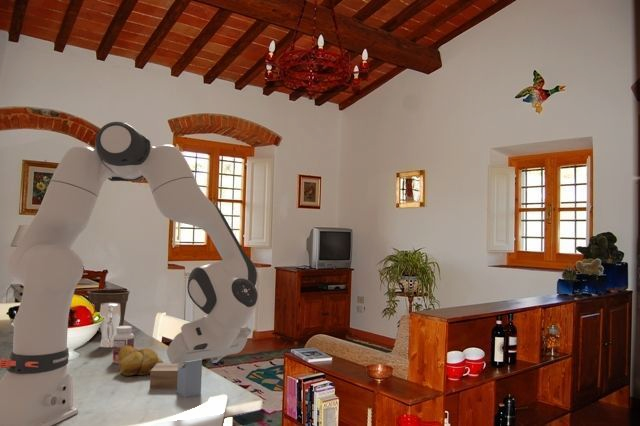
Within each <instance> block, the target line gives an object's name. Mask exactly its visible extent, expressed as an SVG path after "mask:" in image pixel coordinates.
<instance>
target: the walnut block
mask: <svg viewBox="0 0 640 426" xmlns="http://www.w3.org/2000/svg"><path fill="white" fill-rule="evenodd" d="M149 375H150V376H149V389H150V390H151V389H153V390H154V389H158V390H159V389H161V390H163V389H164V390H169V389H170V390H171V389H173V390H177V381H178V365H177V363H175V364H172V363H171V362H163V363H157V364H156V365H155V366H154V367H153V369H152V370H151V372H150V373H149Z"/></svg>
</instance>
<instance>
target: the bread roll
mask: <svg viewBox="0 0 640 426" xmlns="http://www.w3.org/2000/svg"><path fill="white" fill-rule="evenodd" d="M118 358H119V360H120V362H119V364H118V365H119V366H118V369H119V371H120V373H121V374H122V376H125V377H126V376H127V377H130V376H135V375H137V376H144V375H145V376H146V375H148V374H149V375H150V372H151V370H152V369H153V367H154V366H155V365H156V364H157V363H164V361H163V359H161V358H160V357H159V355H158V353H157V352H156V351H155V350H153V349H152V348H151V349H150V348H142V349H138V348H136V347H134V348H133V347H131V346H129V345H124V346H122V347H121V349H120V351H119V355H118Z"/></svg>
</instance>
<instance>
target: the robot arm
mask: <svg viewBox="0 0 640 426" xmlns="http://www.w3.org/2000/svg"><path fill="white" fill-rule="evenodd" d="M94 141H95V142H94V143H95V147H90V146H86V145H75V146H72V147H70V148H69V149H68V150H67V151H66V152H65V154H64V155H63V157H62V158H61V160H60V161H59V163H58V165H57V167H56V168H55V170H54V172H53V175H52V177H51V179H50V180H49V181H50V182H49V183H48V187H47V188H46V192H45V193H44V196H43V199H42V201H41V204H40V205H39V208H38V210H37V212H36V214H35V216H34V218H33V219H32V220H31V222H30V224H29V225H28V227H27V229H26V230H25V232H24V234H23V236H22V237H21V239H20V241H19V243H18V244H17V246H16V247H15V249H13V250H12V252H11V253H10V254H9V257H8V259H7V269H8V272H9V274H10V276H11V277H12V278H13V280H14V281H15V282H16V283H17V284H19V285H21V286H23V292H22V296H21V299H20V303H19V307H18V310H17V312H16V314H15V316H14V318H13V319H14V321H13V337H12V338H13V339H12V341H13V342H12V351H11V352H10V354H9V357H8V358H1V359H0V369H5V370H6V372H5V374H4V375H3V376H2V377H1V379H0V426H54V425H56V424H58V423H60V422H62V421H64V420H67V419H68V418H70V417H73V416H75V415H76V414H78V413H79V408H78V406H76V405H75V404H74V386H73V383H74V382H73V376H72V374H71V373H70V371H69V369H68V366H67V365H68V364H69V357H70V353H69V351H70V350H69V347H68V331H69V330H68V327H69V316H70V315H69V314H70V310H71V306H72V302H73V297H74V294H75V290H76V286H77V284H78V283H79V282H80V281H81V280H82V277H83V275H84V262H83V260H82V258H81V257H80V256H79V254H78V253H77V252H75V251H74V250H73V249H71V248H72V246H73V245H74V243H75V242H76V240H77V239H78V237H79V236H80V235H81V233H83V232H84V230H85V229H86V228H87V226H88V224H89V221H90V219H91V216H92V213H93V211H94V207H95V205H96V203H97V201H98V200H97V199H98V198H99V195H100V192H101V189H102V187H103V185H104V183H105V182H106V180H108V181H111V182H137V181H140V180H142V179H145V180H146V181H147V183H148V185H149V188H150V190H151V191H150V192H151V194H152V196H153V200H154V201H155V204H156V207H157V208H158V210H159V211H160V213H161V214H162V215H163V216H164V217H165V218H167V219H168V220H171V221H173V222H174V223H178V224H179V223H180V224H185V225H189V226H193V227H196V228H199V229H201V230H202V231H204V232H205V233H206V234H207V235H208V237H210V239H211V241H212V243H213V246H214V247H215V249H216V250H217V252H218V254H219V256H220V257H221V260H220V261H216V262H211V263H207V264H204V265H200V266H198V267H195V268H193V269H192V270H191V272H190V274H189V276H188V279H187V293H188V296H189V298H190V299H191V301H192V302H193V303H194V305H196V306H197V307H198V308H199V309H200V310H201V311H202V312H203V313H204V314H206V315H204V316H202V317H201V318H198V319H196V320H193V321H189V322H187V323H184V324H182V326H181V327H180V331H181V332H179V333H177V334H176V335H175V336H174V338H173V339H172V341H171V342H170V343H169V345H168V347H167V349H166V355H167V358H168V361H169V363H172V364H175V363H177V365H178V368H179V369H182V368H185V367H186V365H187V364H186V362H187V361H193V360H199V359H202V360H205V359H210V361H211V364H214V363H218V362H219V361H220V360H221V359H223V358H225V357H226V356H228V355H229V356H230V355H234V354H239V353H240V352H242V350H243V349H244V348H245V346H246V344H247V341H248V337H249V336H250V334H251V333H252V329H251V328H249V327H248V326H245V325H246V324H247V323H248V321H249V320H250V319H251V317H252V315H253V313H254V311H255V310H256V308H257V305H258V300H259V294H258V289H257V288H256V285H257V281H258V271H257V268H256V265H255V263H254V262H253V261H252V260H251V258H250V257H249V256H248V254H247V253H246V251H244V249H243V248H242V245H241V244H240V242H239V240H238V238H237V237H236V235H235V233H234V232H233V230H232V228H231V226H230V224H229V222H228V221H227V219H226V217H225V216H224V214H223V213H222V211H221V210H220V208H219V207H218V205H217V204H215V202H214V201H212V200H210V199H209V198H208V197H207V196H206V195H205V193H204V192H203V191H202V189H201V187H200V186H199V184H198V183H197V182H198V181H197V180H196V177H195V175H194V173H193V171H192V169H191V167H190V165H189V163H188V161H187V160H186V158H185V156H184V155H183V153H182V151H181V150H180V149H179V148H178V147H176V146H174V145H172V144H161V145H157V146H152V145H151V141H150V139H149V138H148V137H146V136H145V135H144V134H143V133H141V132H140V131H139V130H138V129H136V128H135V127H134V126H132V125H130V124H128V123H127V122H124V121H123V122H121V121H112V122H109V123H106V124H105V125H103V126H102V127H101V128H100V129H98V131H97V133H96V136H95V140H94Z"/></svg>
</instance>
